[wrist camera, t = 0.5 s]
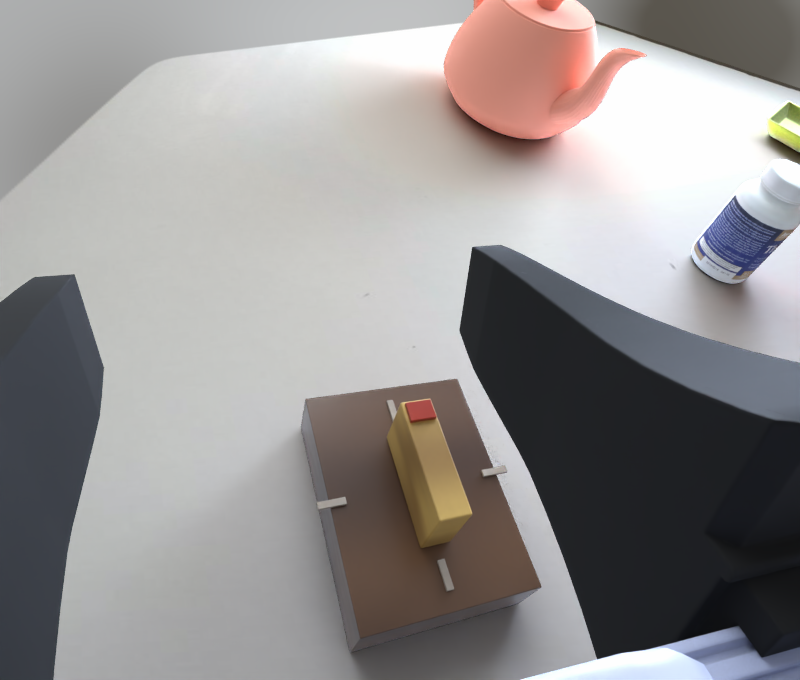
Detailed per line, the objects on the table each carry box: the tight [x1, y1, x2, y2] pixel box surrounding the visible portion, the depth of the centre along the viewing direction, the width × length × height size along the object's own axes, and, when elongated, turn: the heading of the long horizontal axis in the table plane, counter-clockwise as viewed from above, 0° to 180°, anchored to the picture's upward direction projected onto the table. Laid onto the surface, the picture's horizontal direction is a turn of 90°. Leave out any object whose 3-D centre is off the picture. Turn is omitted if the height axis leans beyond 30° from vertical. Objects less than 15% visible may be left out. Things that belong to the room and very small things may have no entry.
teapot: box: [444, 0, 647, 139], centre depth 56 cm, size 22×15×12 cm
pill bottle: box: [691, 159, 800, 284], centre depth 49 cm, size 5×5×10 cm
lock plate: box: [301, 379, 541, 652], centre depth 30 cm, size 12×10×3 cm
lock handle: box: [387, 399, 472, 548], centre depth 28 cm, size 6×2×4 cm, turn 17°
